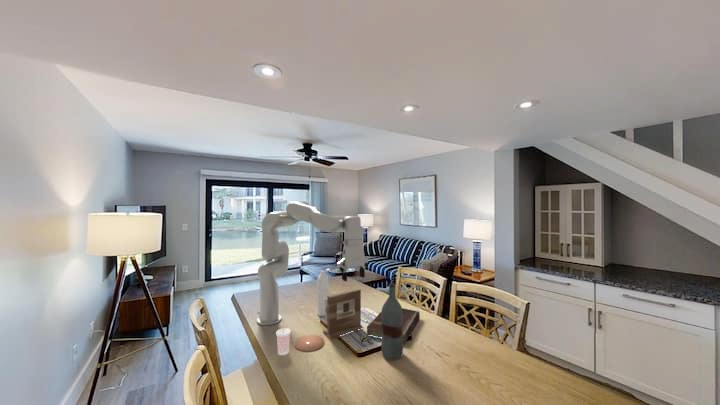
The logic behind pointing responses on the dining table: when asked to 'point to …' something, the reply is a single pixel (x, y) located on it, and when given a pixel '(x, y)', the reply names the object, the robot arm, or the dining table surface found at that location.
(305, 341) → the peach round disc
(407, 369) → the dining table surface
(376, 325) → the hardback book
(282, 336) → the beverage cup
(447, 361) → the dining table surface
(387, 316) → the vodka
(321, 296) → the water bottle
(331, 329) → the mount stand
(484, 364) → the dining table surface
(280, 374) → the dining table surface
